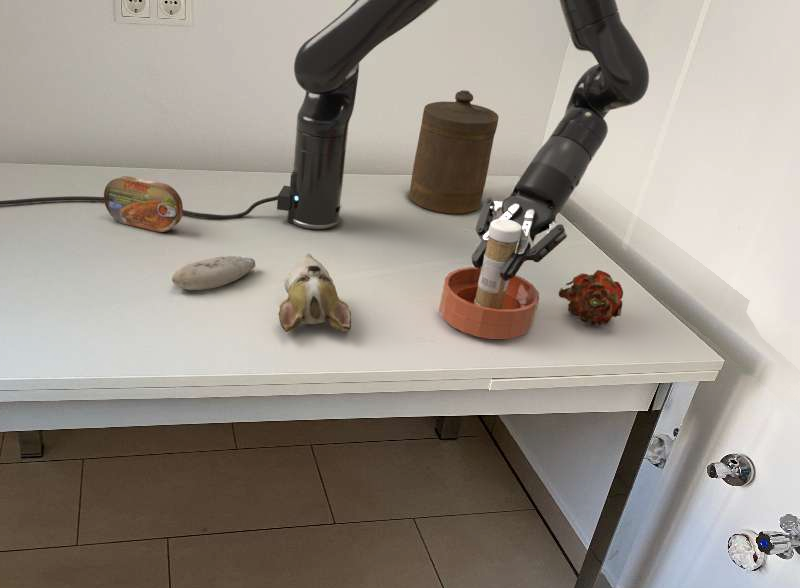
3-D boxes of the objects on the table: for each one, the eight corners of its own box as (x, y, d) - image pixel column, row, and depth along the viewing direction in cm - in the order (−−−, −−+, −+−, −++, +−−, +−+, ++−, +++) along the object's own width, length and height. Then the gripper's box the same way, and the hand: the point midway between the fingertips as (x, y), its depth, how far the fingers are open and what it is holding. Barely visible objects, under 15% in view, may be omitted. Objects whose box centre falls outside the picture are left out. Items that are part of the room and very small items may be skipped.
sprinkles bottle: (509, 309, 121) (529, 227, 113) (487, 315, 118) (506, 232, 111) (487, 296, 124) (506, 215, 116) (466, 302, 122) (483, 220, 114)
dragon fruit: (593, 348, 120) (566, 319, 131) (645, 319, 119) (613, 292, 129) (570, 304, 117) (544, 278, 128) (624, 274, 115) (593, 250, 126)
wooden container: (490, 199, 166) (514, 91, 153) (464, 220, 155) (486, 106, 143) (426, 182, 172) (444, 77, 159) (396, 201, 161) (412, 90, 149)
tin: (104, 219, 144) (101, 174, 139) (113, 213, 146) (110, 169, 141) (177, 237, 139) (176, 191, 135) (185, 230, 142) (185, 185, 137)
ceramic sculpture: (343, 244, 120) (359, 296, 109) (338, 292, 126) (353, 347, 114) (274, 243, 119) (283, 296, 107) (271, 292, 124) (279, 347, 113)
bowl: (436, 335, 117) (442, 302, 114) (440, 292, 129) (446, 261, 126) (533, 350, 116) (542, 317, 113) (528, 305, 127) (536, 274, 124)
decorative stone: (264, 276, 129) (265, 257, 127) (185, 301, 120) (185, 281, 119) (241, 262, 133) (242, 244, 131) (163, 285, 124) (162, 266, 122)
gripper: (505, 148, 118) (442, 243, 117) (592, 176, 110) (524, 278, 109) (517, 175, 124) (457, 265, 123) (600, 204, 116) (536, 301, 115)
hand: (489, 271), depth 116 cm, fingers closed on sprinkles bottle, 4 cm apart
